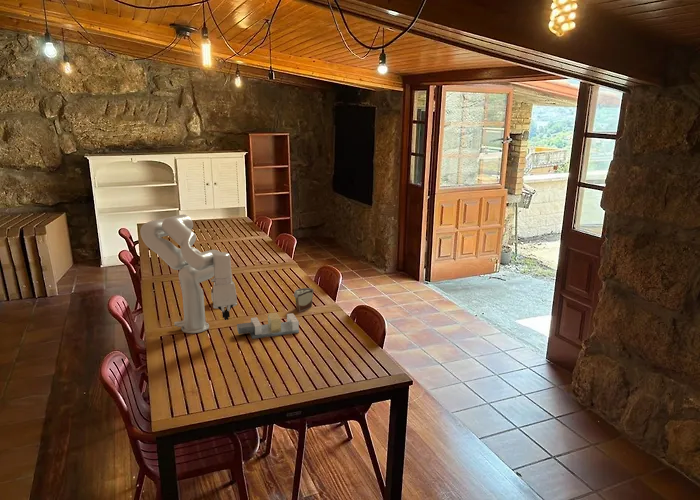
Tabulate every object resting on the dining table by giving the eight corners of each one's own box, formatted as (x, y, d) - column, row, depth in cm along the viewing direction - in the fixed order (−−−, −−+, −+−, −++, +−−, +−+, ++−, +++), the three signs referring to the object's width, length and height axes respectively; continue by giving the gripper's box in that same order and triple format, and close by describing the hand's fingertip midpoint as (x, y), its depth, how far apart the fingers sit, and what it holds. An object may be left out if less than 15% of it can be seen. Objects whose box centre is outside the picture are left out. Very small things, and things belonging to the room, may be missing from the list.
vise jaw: (239, 336, 224) (239, 328, 223) (236, 327, 234) (235, 319, 233) (261, 334, 227) (261, 325, 226) (257, 324, 237) (257, 317, 236)
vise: (252, 339, 226) (251, 327, 225) (248, 329, 236) (247, 318, 235) (298, 332, 234) (298, 321, 232) (293, 323, 244) (293, 313, 242)
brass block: (271, 331, 230) (271, 319, 229) (268, 325, 238) (267, 313, 236) (281, 330, 232) (280, 318, 230) (277, 324, 239) (277, 312, 238)
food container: (305, 303, 271) (305, 286, 268) (313, 306, 267) (313, 288, 265) (289, 309, 262) (288, 291, 259) (297, 312, 258) (297, 294, 255)
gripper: (206, 284, 214) (210, 324, 219) (241, 280, 219) (244, 319, 224) (205, 279, 221) (208, 318, 225) (239, 276, 226) (241, 313, 230)
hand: (226, 318), depth 225 cm, fingers closed
